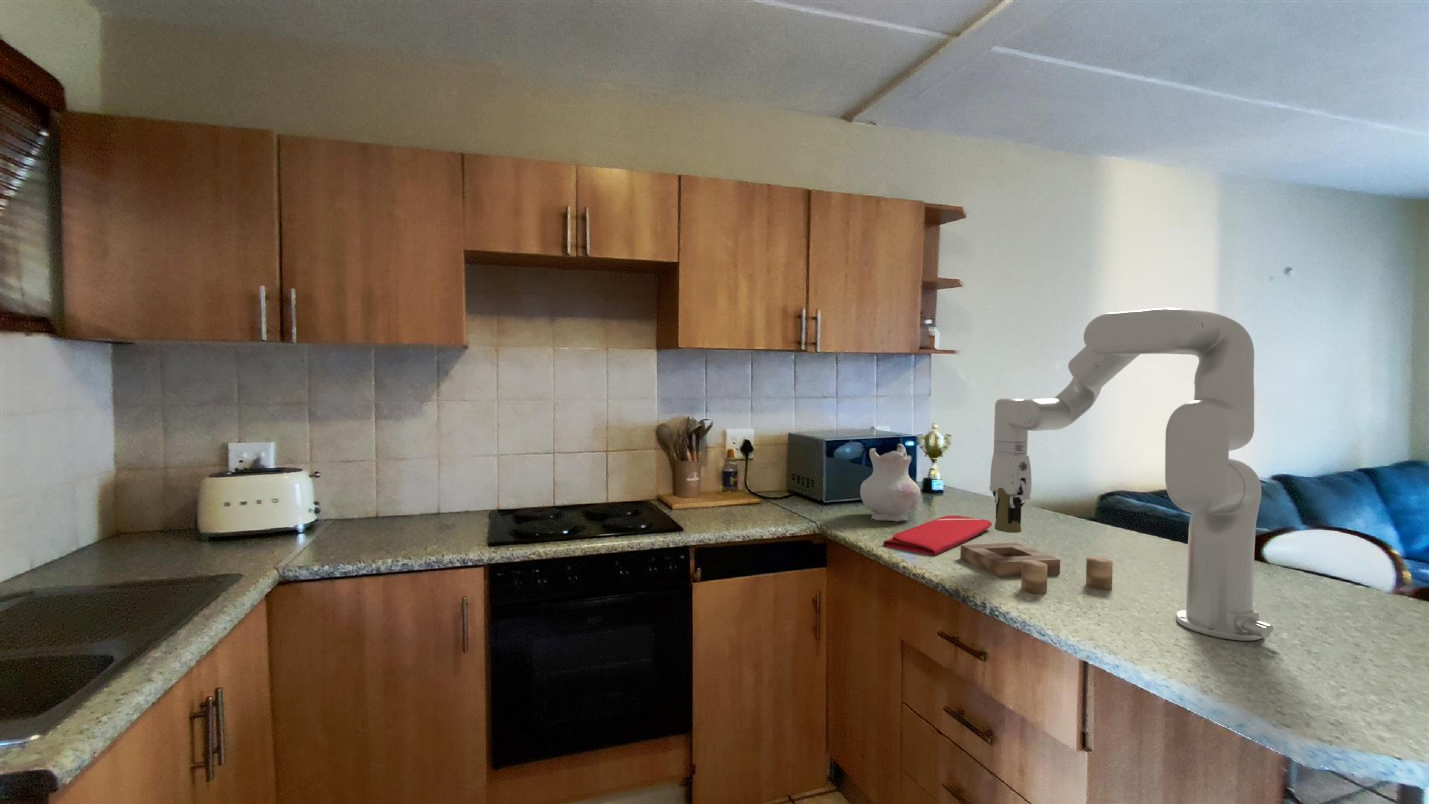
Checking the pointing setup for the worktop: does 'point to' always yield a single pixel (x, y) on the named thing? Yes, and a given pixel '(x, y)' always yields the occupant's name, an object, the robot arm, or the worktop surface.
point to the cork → (1005, 514)
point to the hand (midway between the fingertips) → (1008, 520)
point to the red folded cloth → (938, 534)
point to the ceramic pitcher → (890, 486)
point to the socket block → (1006, 558)
